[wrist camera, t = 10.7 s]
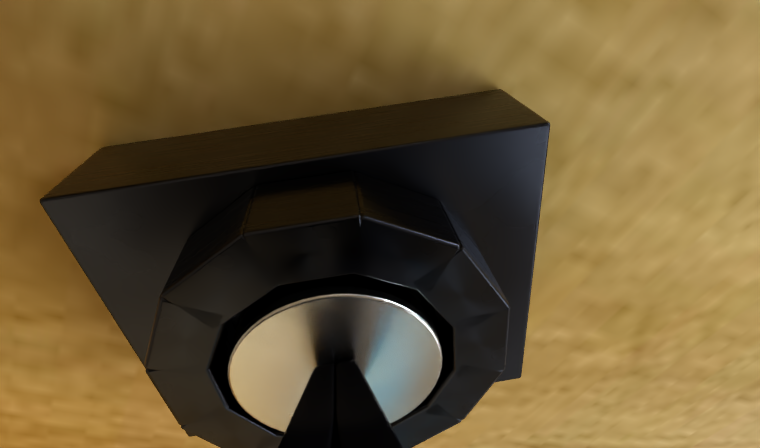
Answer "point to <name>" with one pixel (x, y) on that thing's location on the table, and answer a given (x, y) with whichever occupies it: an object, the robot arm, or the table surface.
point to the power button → (333, 344)
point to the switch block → (315, 241)
